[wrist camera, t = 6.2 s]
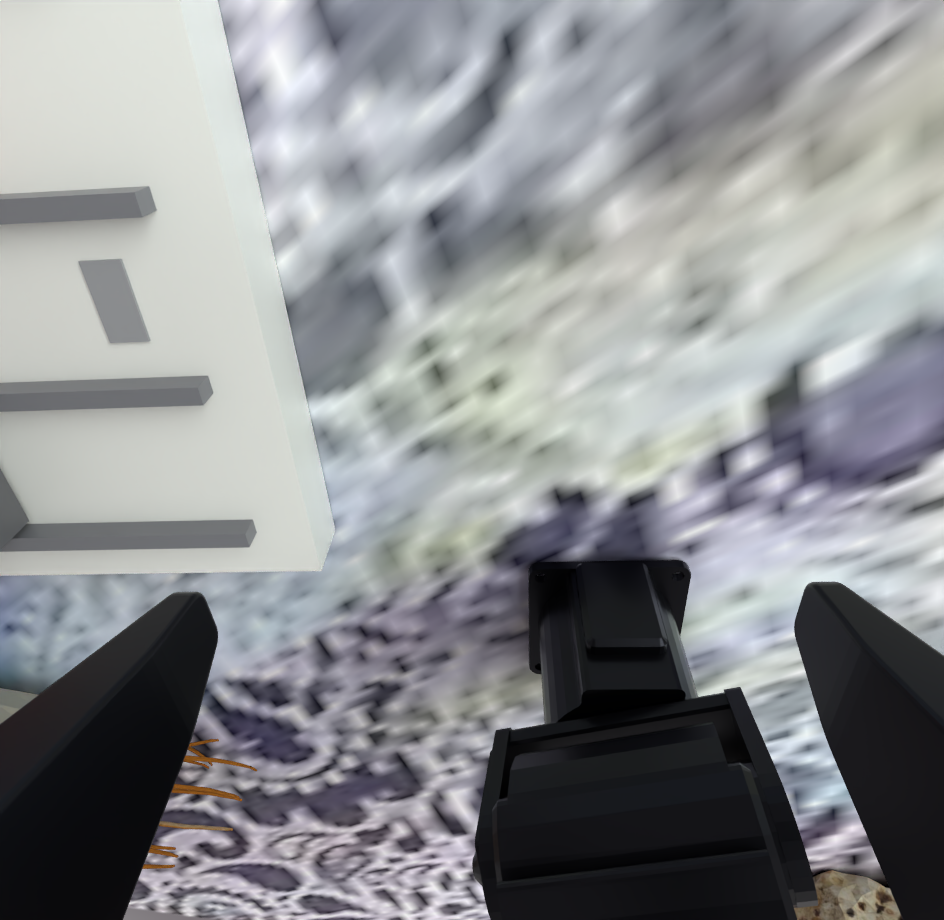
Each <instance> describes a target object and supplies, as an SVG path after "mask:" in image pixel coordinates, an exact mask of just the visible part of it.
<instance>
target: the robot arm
mask: <svg viewBox="0 0 944 920" xmlns="http://www.w3.org/2000/svg"><path fill="white" fill-rule="evenodd" d="M675 572H680V573H678V574H674V573H675ZM537 574H545V575H543V576H538V575H537ZM690 578H691V572H690V570H689V567H688V565H687V564H686V563H685V562H683V561H680V560H657V561H592V562H539V563H535V564H533V565H531V567H530V568H529V571H528V592H529V667H530V670H531V671H532V672H534V673H536V674H542V689H543V704H544V720H545V724H543V725H538V726H532V727H526V728H521V729H515V730H512V729H511V728H506V729H500V730H496V732H495V738H494V743H493V749H492V751H491V752H490V757H489V763H488V768H487V774H486V780H485V786H484V791H483V797H482V803H481V808H480V814H479V820H478V825H477V831H476V837H475V848H476V852H475V855H474V857H473V863H472V864H473V873H474V877H475V879H476V880H477V881H478V882H479V883H480V884H481V885H482V886H483V891H484V897H485V901H486V905H487V909H488V913H489V916H490V918H491V920H797V917H796V913H795V910H794V908H800V907H810V906H818V898H817V892H816V888H815V884H814V880H813V876H812V872H811V869H810V865H809V862H808V858H807V855H806V852H805V848H804V845H803V842H802V839H801V836H800V833H799V830H798V827H797V824H796V821H795V818H794V815H793V812H792V809H791V806H790V804H789V801H788V798H787V795H786V793H785V790H784V787H783V785H782V782H781V780H780V778H779V775H778V773H777V770H776V768H775V766H774V763H773V761H772V759H771V757H770V754H769V752H768V750H767V747H766V745H765V743H764V741H763V738H762V736H761V734H760V731H759V729H758V727H757V724H756V722H755V720H754V718H753V715H752V713H751V711H750V708H749V706H748V704H747V701H746V699H745V697H744V695H743V692H742V690H741V688H740V687H737V688H731V689H725V690H724V693H719V694H713V695H708V696H702V697H698V695H697V691H696V688H695V685H694V681H693V678H692V675H691V671H690V668H689V665H688V661H687V658H686V655H685V651H684V648H683V645H682V641H681V638H680V634H681V628H682V623H683V617H684V611H685V606H686V600H687V595H688V589H689V584H690ZM794 630H795V637H796V641H797V644H798V647H799V651H800V654H801V657H802V661H803V664H804V667H805V671H806V674H807V677H808V681H809V684H810V687H811V691H812V694H813V697H814V701H815V704H816V707H817V711H818V714H819V717H820V721H821V724H822V727H823V730H824V733H825V736H826V739H827V741H828V744H829V746H830V749H831V751H832V754H833V756H834V759H835V761H836V763H837V766H838V768H839V770H840V773H841V775H842V777H843V780H844V782H845V784H846V787H847V789H848V791H849V794H850V796H851V799H852V801H853V803H854V806H855V808H856V810H857V813H858V815H859V817H860V820H861V822H862V824H863V827H864V829H865V831H866V834H867V836H868V839H869V841H870V843H871V846H872V848H873V850H874V853H875V855H876V857H877V860H878V862H879V864H880V867H881V869H882V871H883V874H884V876H885V878H886V881H887V883H888V886H889V888H890V890H891V893H892V895H893V897H894V900H895V902H896V904H897V907H898V909H899V911H900V914H901V916H902V918H903V920H944V655H942V654H941V653H939V652H938V651H937V650H935V649H934V648H932V647H931V646H929V645H928V644H927V643H925V642H924V641H922V640H921V639H920V638H918V637H917V636H915V635H914V634H912V633H911V632H910V631H908V630H907V629H905V628H904V627H903V626H901V625H900V624H898V623H897V622H896V621H894V620H893V619H891V618H890V617H888V616H887V615H886V614H884V613H883V612H881V611H880V610H879V609H877V608H876V607H874V606H873V605H872V604H870V603H869V602H867V601H866V600H864V599H863V598H862V597H860V596H859V595H857V594H856V593H855V592H853V591H852V590H850V589H849V588H848V587H846V586H845V585H843V584H841V583H839V582H812V583H809V584H808V585H807V586H806V588H805V590H804V593H803V596H802V600H801V603H800V606H799V609H798V613H797V616H796V619H795V625H794ZM217 642H218V631H217V626H216V624H215V621H214V619H213V616H212V614H211V611H210V609H209V606H208V604H207V601H206V599H205V597H204V596H203V595H202V594H201V593H199V592H176V593H173V594H171V595H169V596H168V597H167V598H165V599H164V600H163V601H161V602H160V603H159V604H157V605H156V606H155V607H153V608H152V609H151V610H149V611H148V612H147V613H146V614H144V615H143V616H142V617H140V618H139V619H138V620H136V621H135V622H134V623H132V624H131V625H130V626H128V627H127V628H126V629H124V630H123V631H122V632H121V633H119V634H118V635H117V636H115V637H114V638H113V639H111V640H110V641H109V642H107V643H106V644H105V645H103V646H102V647H101V648H99V649H98V650H97V651H95V652H94V653H93V654H92V655H90V656H89V657H88V658H86V659H85V660H84V661H82V662H81V663H80V664H78V665H77V666H76V667H74V668H73V669H72V670H70V671H69V672H68V673H67V674H65V675H64V676H63V677H61V678H60V679H59V680H57V681H56V682H55V683H53V684H52V685H51V686H49V687H48V688H47V689H45V690H44V691H43V692H42V693H40V694H39V695H38V696H36V697H35V698H34V699H32V700H31V701H30V702H28V703H27V704H26V705H24V706H23V707H22V708H20V709H19V710H18V711H17V712H15V713H14V714H13V715H11V716H10V717H9V718H7V719H6V720H5V721H3V722H2V723H1V724H0V920H123V918H124V915H125V913H126V910H127V907H128V905H129V902H130V900H131V897H132V894H133V892H134V889H135V886H136V884H137V881H138V879H139V876H140V873H141V871H142V868H143V865H144V863H145V860H146V858H147V855H148V852H149V850H150V847H151V845H152V842H153V839H154V837H155V834H156V831H157V829H158V826H159V824H160V821H161V818H162V816H163V813H164V811H165V808H166V805H167V803H168V800H169V797H170V795H171V792H172V790H173V787H174V784H175V782H176V779H177V776H178V774H179V771H180V769H181V766H182V763H183V761H184V758H185V756H186V753H187V750H188V747H189V744H190V742H191V739H192V736H193V732H194V729H195V726H196V722H197V718H198V715H199V711H200V707H201V703H202V700H203V696H204V692H205V688H206V684H207V681H208V677H209V673H210V669H211V666H212V662H213V658H214V654H215V650H216V647H217Z"/></svg>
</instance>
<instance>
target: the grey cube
mask: <svg viewBox="0 0 944 920" xmlns="http://www.w3.org/2000/svg"><path fill="white" fill-rule="evenodd" d="M28 522H29V519H28V517H27V516H26V514H25V512H24V510H23V508H22V507H21V505H20V503H19V501H18V499H17V498H16V496H15V494H14V492H13V490H12V489H11V487H10V485H9V483H8V481H7V480H6V478H5V476H4V474H3V472H2V471H1V469H0V550H1V549H2V548H3V547H4V546H5V545H6V544H7V543H8V542H9V541H10V540H11V539H12V538H13V537H14V536H15V535H16V534H17V533H18V532H19V531H20V530H21V529H22V528H23V527H24V526H25V525H26V524H27V523H28Z"/></svg>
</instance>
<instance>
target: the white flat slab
mask: <svg viewBox="0 0 944 920" xmlns="http://www.w3.org/2000/svg"><path fill="white" fill-rule="evenodd" d="M0 469H1V471H2V472H3V474H4V476H5V478H6V480H7V481H8V483H9V485H10V487H11V489H12V490H13V492H14V494H15V496H16V498H17V499H18V501H19V503H20V505H21V507H22V508H23V510H24V512H25V514H26V516H27V517H28V519H29V522H28V523H27V524H26V525H25V526H24V527H23V528H22V529H21V530H20V531H19V532H18V533H17V534H16V535H15V536H14V537H13V538H12V539H11V540H10V541H9V542H8V543H7V544H6V545H5V546H4V547H3V548H2V549H1V550H0V576H20V575H87V574H153V573H220V572H287V571H322V568H323V565H324V562H325V559H326V556H327V553H328V550H329V547H330V544H331V541H332V539H333V536H334V533H335V525H334V521H333V516H332V512H331V507H330V503H329V498H328V494H327V489H326V485H325V480H324V476H323V471H322V467H321V462H320V458H319V453H318V449H317V444H316V440H315V436H314V431H313V427H312V422H311V418H310V413H309V409H308V404H307V400H306V395H305V391H304V386H303V382H302V377H301V373H300V368H299V364H298V359H297V355H296V350H295V346H294V341H293V337H292V332H291V328H290V323H289V319H288V314H287V310H286V305H285V301H284V296H283V292H282V287H281V283H280V278H279V274H278V269H277V265H276V260H275V256H274V251H273V247H272V242H271V238H270V233H269V229H268V224H267V220H266V215H265V211H264V206H263V202H262V197H261V193H260V188H259V184H258V179H257V175H256V170H255V166H254V161H253V157H252V152H251V148H250V143H249V139H248V134H247V130H246V125H245V121H244V116H243V112H242V107H241V103H240V98H239V94H238V89H237V85H236V80H235V76H234V71H233V67H232V62H231V58H230V54H229V49H228V45H227V40H226V36H225V31H224V27H223V22H222V18H221V13H220V9H219V4H218V0H0Z"/></svg>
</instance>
